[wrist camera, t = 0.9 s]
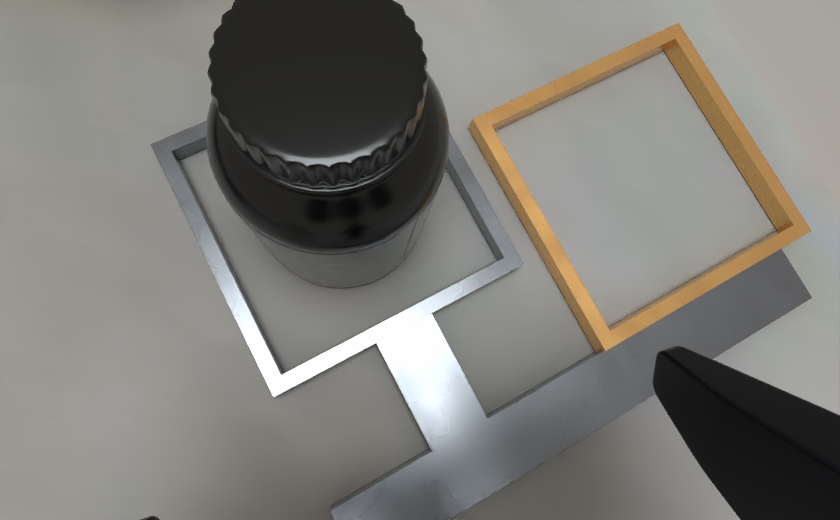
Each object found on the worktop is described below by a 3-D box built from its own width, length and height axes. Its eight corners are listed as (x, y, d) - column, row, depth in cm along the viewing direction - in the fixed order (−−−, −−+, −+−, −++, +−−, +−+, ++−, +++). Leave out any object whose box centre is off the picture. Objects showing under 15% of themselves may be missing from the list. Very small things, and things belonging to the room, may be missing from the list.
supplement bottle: (293, 114, 24) (233, -121, 13) (441, 167, 25) (516, -17, 13) (233, 260, 23) (101, 147, 11) (391, 314, 23) (424, 259, 11)
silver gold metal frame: (824, 283, 26) (842, 280, 25) (360, 567, 21) (360, 576, 20) (617, -43, 28) (627, -58, 27) (159, 153, 23) (150, 144, 22)
